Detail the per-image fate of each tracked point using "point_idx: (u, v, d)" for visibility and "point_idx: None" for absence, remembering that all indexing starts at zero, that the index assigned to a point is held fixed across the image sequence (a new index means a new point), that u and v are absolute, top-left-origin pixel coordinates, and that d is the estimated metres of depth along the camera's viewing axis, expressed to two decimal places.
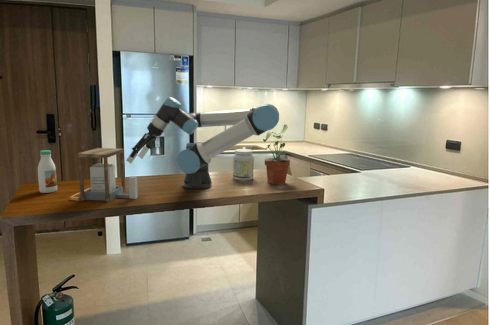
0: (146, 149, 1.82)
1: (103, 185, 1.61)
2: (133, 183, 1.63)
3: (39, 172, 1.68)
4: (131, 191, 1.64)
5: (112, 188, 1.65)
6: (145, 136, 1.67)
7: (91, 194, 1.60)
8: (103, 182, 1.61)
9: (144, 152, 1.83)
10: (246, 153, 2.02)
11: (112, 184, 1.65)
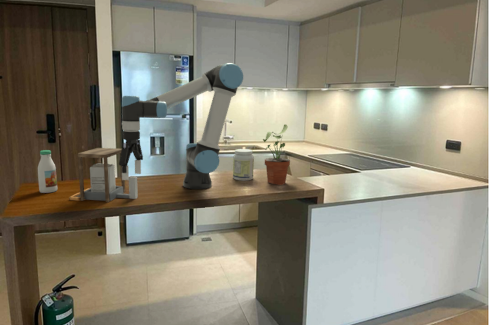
0: (138, 162, 1.69)
1: (103, 185, 1.61)
2: (133, 183, 1.63)
3: (39, 172, 1.68)
4: (131, 191, 1.64)
5: (112, 188, 1.65)
6: (124, 145, 1.54)
7: (91, 194, 1.60)
8: (103, 182, 1.61)
9: (138, 166, 1.69)
10: (246, 153, 2.02)
11: (112, 184, 1.65)
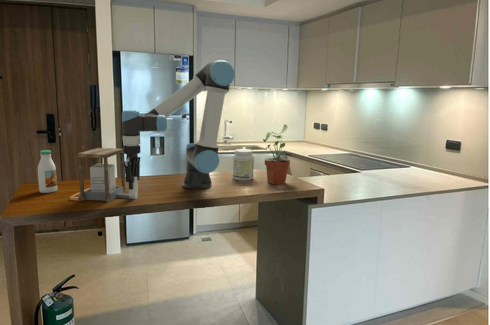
0: None
1: (103, 185, 1.61)
2: None
3: (39, 172, 1.68)
4: None
5: (112, 188, 1.65)
6: (125, 164, 1.56)
7: (91, 194, 1.60)
8: (103, 182, 1.61)
9: None
10: (246, 153, 2.02)
11: (112, 184, 1.65)
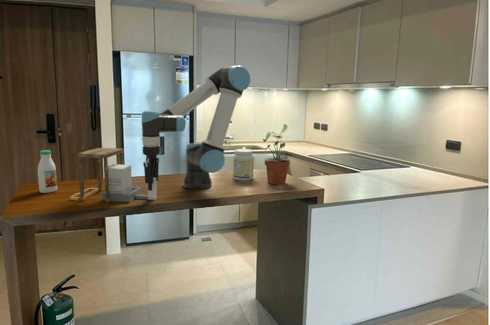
0: None
1: (117, 186, 1.60)
2: None
3: (39, 172, 1.68)
4: None
5: (126, 190, 1.62)
6: (145, 165, 1.55)
7: (110, 195, 1.59)
8: (116, 183, 1.59)
9: None
10: (246, 153, 2.02)
11: (126, 185, 1.62)
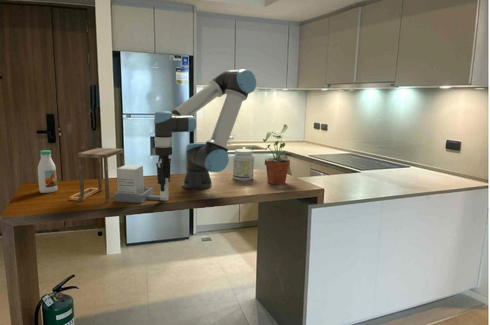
0: None
1: (129, 187, 1.59)
2: None
3: (39, 172, 1.68)
4: None
5: (138, 191, 1.61)
6: (158, 166, 1.55)
7: (123, 196, 1.59)
8: (129, 184, 1.59)
9: None
10: (246, 153, 2.02)
11: (139, 186, 1.62)
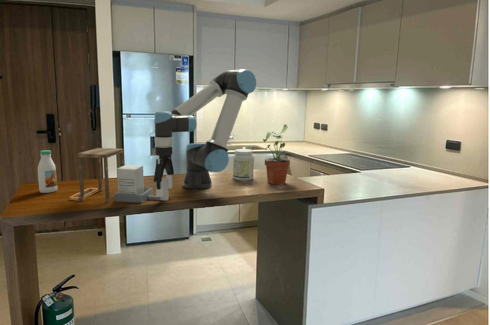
0: (169, 176, 1.68)
1: (129, 187, 1.59)
2: (165, 185, 1.61)
3: (39, 172, 1.68)
4: (163, 193, 1.62)
5: (138, 191, 1.61)
6: (158, 161, 1.54)
7: (123, 196, 1.59)
8: (129, 184, 1.59)
9: (170, 180, 1.69)
10: (246, 153, 2.02)
11: (139, 186, 1.62)
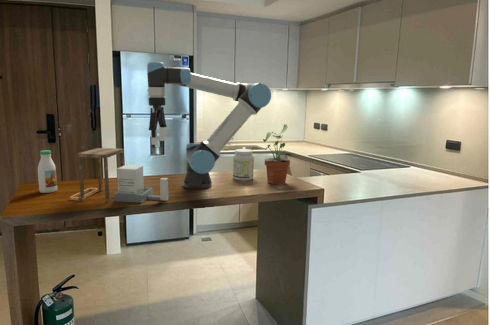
0: (162, 129, 1.73)
1: (129, 187, 1.59)
2: (164, 185, 1.61)
3: (39, 172, 1.68)
4: (163, 193, 1.62)
5: (138, 191, 1.61)
6: (152, 110, 1.58)
7: (123, 196, 1.59)
8: (129, 184, 1.59)
9: (163, 133, 1.73)
10: (246, 153, 2.02)
11: (139, 186, 1.62)
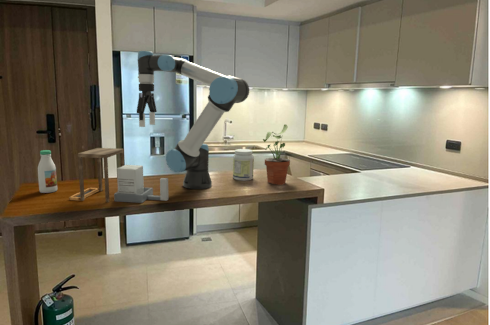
0: (152, 113, 1.87)
1: (129, 187, 1.59)
2: (164, 185, 1.61)
3: (39, 172, 1.68)
4: (162, 193, 1.62)
5: (138, 191, 1.61)
6: (140, 95, 1.73)
7: (123, 196, 1.59)
8: (129, 184, 1.59)
9: (152, 117, 1.88)
10: (246, 153, 2.02)
11: (139, 186, 1.62)
